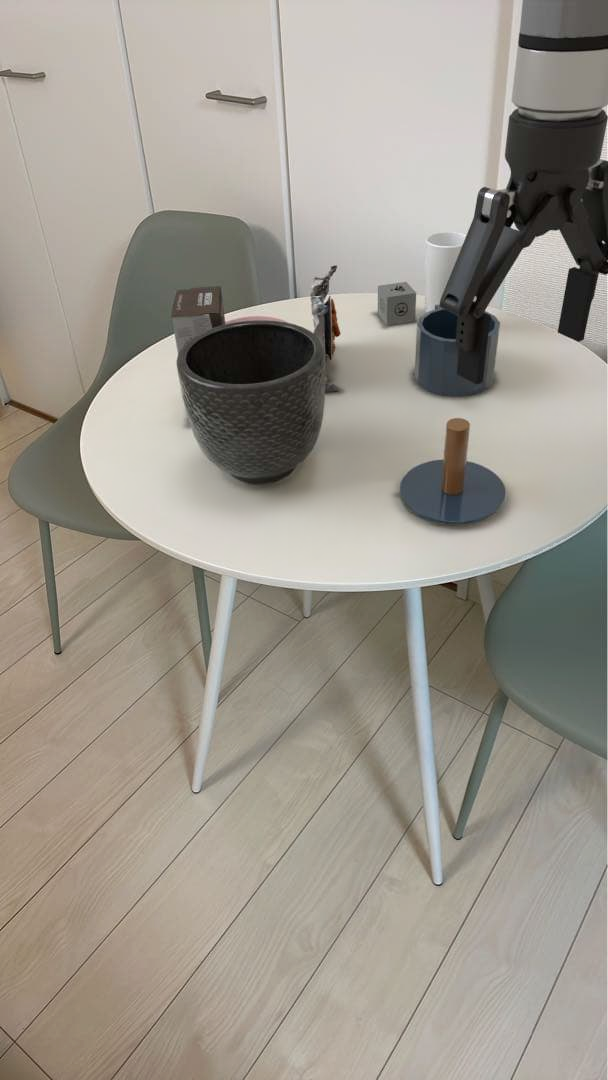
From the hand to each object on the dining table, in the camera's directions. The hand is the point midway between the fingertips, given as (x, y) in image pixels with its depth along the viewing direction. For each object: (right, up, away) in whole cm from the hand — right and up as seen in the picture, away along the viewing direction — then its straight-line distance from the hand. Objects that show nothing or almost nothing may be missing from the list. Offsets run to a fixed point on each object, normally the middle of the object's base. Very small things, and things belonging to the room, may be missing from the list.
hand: (521, 356), depth 73 cm
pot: (+1, +6, +39) cm, 40 cm away
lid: (-3, -12, +17) cm, 21 cm away
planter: (-26, -8, +25) cm, 37 cm away
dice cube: (-5, +20, +56) cm, 59 cm away
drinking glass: (+1, +16, +51) cm, 53 cm away
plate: (-30, +14, +50) cm, 60 cm away
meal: (-17, +9, +44) cm, 48 cm away
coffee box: (-34, +1, +36) cm, 50 cm away
